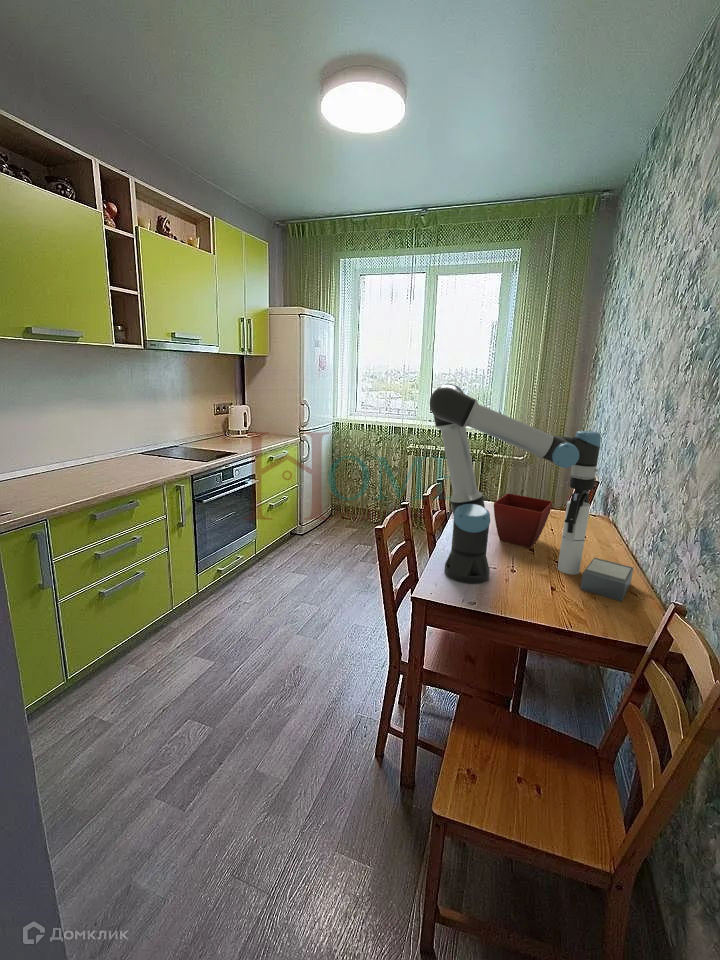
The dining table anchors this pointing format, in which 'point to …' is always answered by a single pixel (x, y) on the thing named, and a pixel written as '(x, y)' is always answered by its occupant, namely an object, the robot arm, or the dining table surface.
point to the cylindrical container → (574, 550)
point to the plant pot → (520, 518)
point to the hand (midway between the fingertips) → (574, 535)
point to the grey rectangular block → (607, 579)
